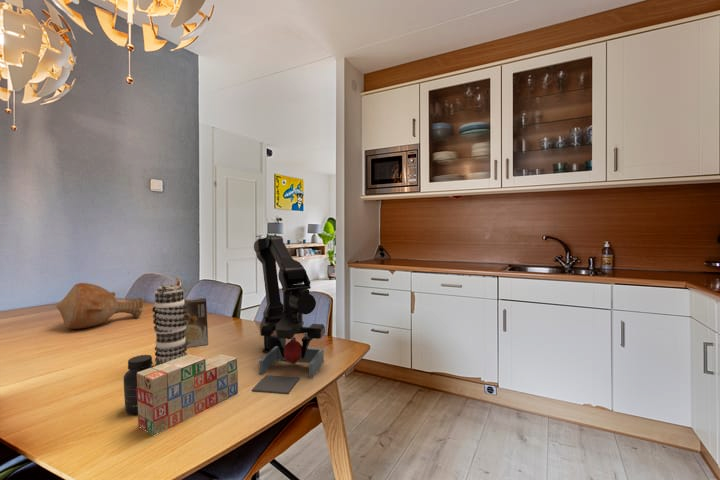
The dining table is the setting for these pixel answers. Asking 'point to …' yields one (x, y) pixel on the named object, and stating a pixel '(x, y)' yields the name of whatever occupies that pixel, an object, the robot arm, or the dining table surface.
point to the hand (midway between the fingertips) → (293, 357)
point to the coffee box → (196, 322)
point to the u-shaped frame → (312, 356)
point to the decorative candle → (169, 323)
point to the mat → (276, 384)
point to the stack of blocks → (183, 389)
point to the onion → (293, 351)
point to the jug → (93, 306)
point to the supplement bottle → (134, 381)
